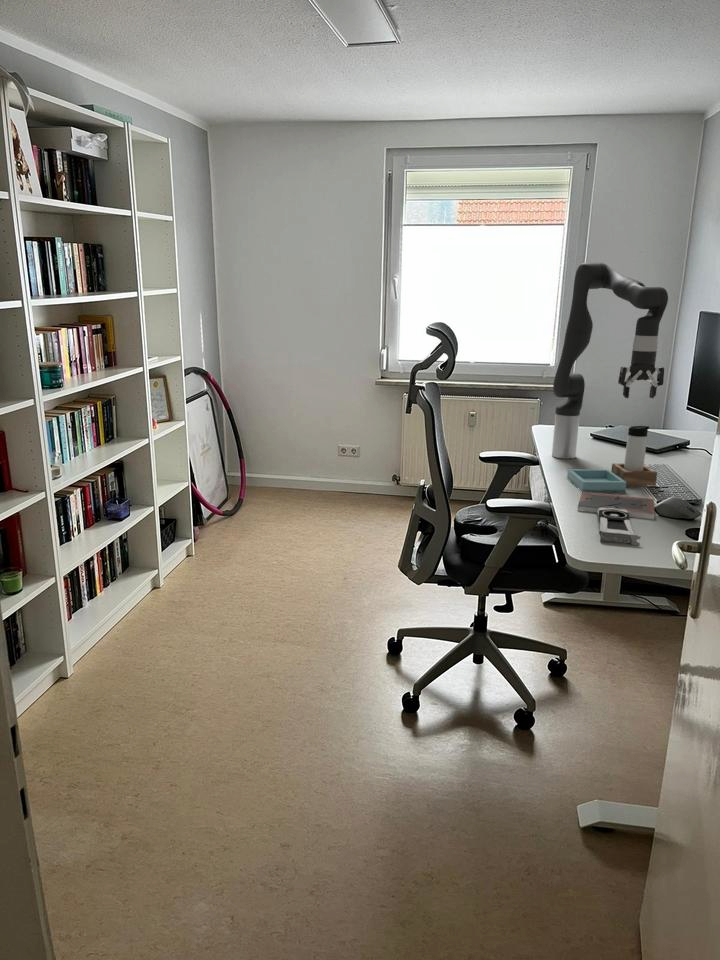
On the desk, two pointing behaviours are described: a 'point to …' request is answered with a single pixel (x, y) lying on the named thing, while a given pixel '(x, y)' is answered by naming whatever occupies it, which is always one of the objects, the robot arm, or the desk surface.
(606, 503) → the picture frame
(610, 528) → the graphics card
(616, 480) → the tray
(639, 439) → the travel mug
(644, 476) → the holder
